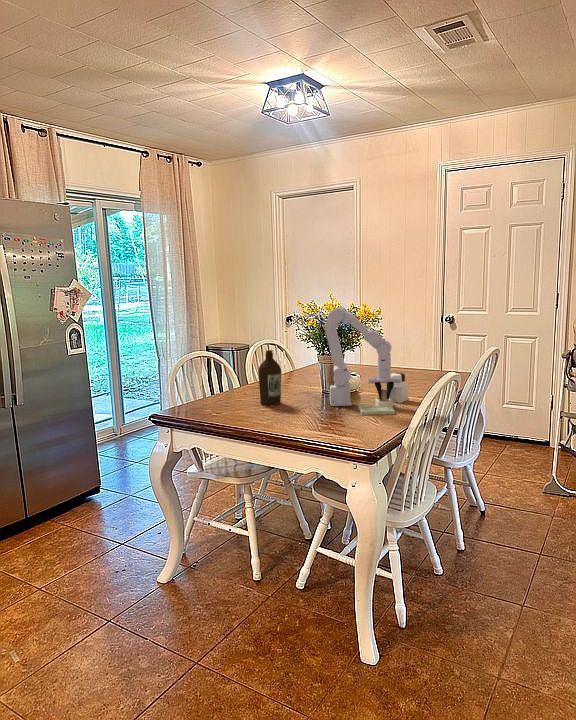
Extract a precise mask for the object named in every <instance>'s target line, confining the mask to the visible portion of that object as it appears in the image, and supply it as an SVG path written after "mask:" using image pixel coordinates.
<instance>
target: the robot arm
mask: <svg viewBox="0 0 576 720" xmlns="http://www.w3.org/2000/svg"><path fill="white" fill-rule="evenodd" d="M342 323H343V324H349V325H350V326H352V327H353V328H354V329H356V330H357V331H358V332H359V333H361V334H362V335H363V339H364V341H365V342H367V344H369V345H370V346H371V347H372V348H373V349H375V350H376V353H377V377H374V378H373V377H371V378H367V379H366V382H367V384H368V385H370V384H374V386H375V388H376V391H377V394H378V399H381V390H382V384H386V390H387V399H389V396H390V393H391V390H392V388H393V386H394V383H401V379H400V378H391V374H392V372H391V369H392V365H391V364H392V359H391V357H392V355H391V352H392V349H393V348H392V344H391V343H390V342H389V340H386V338H384V337H381V335H380V334H379V332H378V331H377V330H374V329H369V328H367V327H366V326H365V325H364V323H362V322H361V321H360V320H359V319H358V318H357V317H356V316H355V315H354V314H353V313H352V312H351V311H349V310H347V309H346V307H344V306H339V307H336V308H333V309H331V311H330V312H329V313H328V314H327V319H326V323H325V326H324V332H325V335H326V339H327V343H328V348H329V351H330V356H331V359H332V365H333V377H332V378H333V379H332V381H333V382H334V384H333V385H332V384H331V385H329V404H330V406H331V407H339V406H340V407H342V406H343V407H344V406H345V407H346V406H350V407H351V406H353V403H352V402H351V383H350V380H351V378H352V373H351V372H350V370H349V369H348V366H347V364H346V363H345V359H344V355H343V350H342V346H341V344H340V339H339V335H338V328H339V326H340V325H341V324H342Z"/></svg>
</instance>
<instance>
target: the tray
mask: <svg viewBox="0 0 576 720" xmlns="http://www.w3.org/2000/svg"><path fill="white" fill-rule="evenodd" d="M357 409H358V411H359V413H360V415H362V416H367V415H368V414H370V415H371V416H372V414H373V415H374V414H379V415H395V413H396V411H395V409H394V407H393V408H392V407H391V406H390V405H382V406H376V405H358V407H357ZM370 415H368V416H370ZM374 416H375V415H374Z"/></svg>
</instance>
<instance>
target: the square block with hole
mask: <svg viewBox="0 0 576 720" xmlns="http://www.w3.org/2000/svg"><path fill="white" fill-rule="evenodd" d="M374 400H375V401H374V402H375V405H374V406H382V405H390V406H391V407H392V408H393V409H394V402H393V401H392V400H391V399H390V398H389V399H387V401H382V402H381V399H379V398H375V399H374Z"/></svg>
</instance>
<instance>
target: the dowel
mask: <svg viewBox="0 0 576 720" xmlns="http://www.w3.org/2000/svg"><path fill="white" fill-rule="evenodd" d="M382 401H387V388H384V389H382V388H381V402H382Z"/></svg>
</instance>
